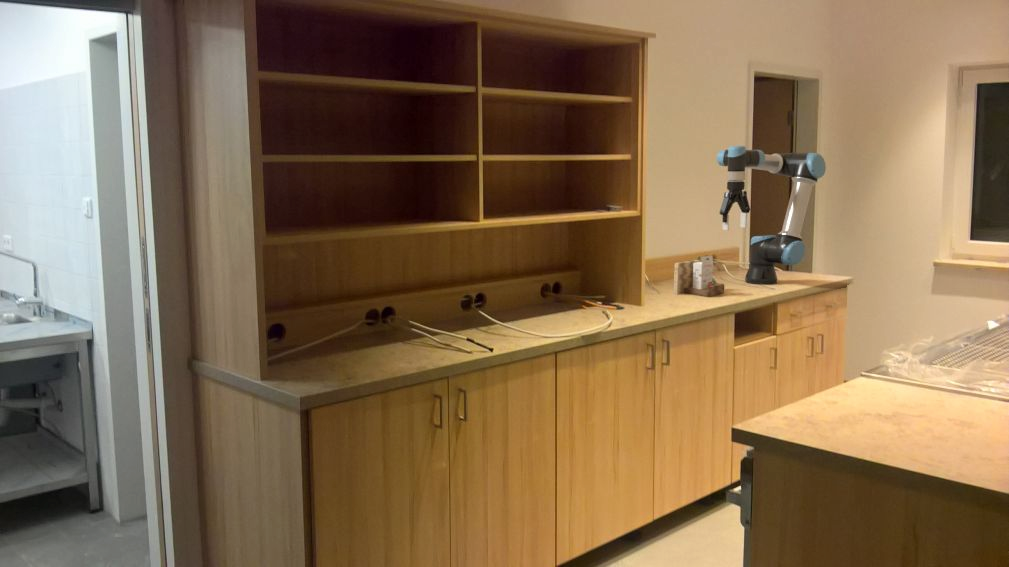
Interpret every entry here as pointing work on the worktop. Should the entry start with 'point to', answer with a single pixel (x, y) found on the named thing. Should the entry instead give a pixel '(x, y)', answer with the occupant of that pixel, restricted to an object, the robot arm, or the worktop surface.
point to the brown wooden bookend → (685, 281)
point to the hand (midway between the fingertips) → (734, 228)
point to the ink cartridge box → (703, 273)
